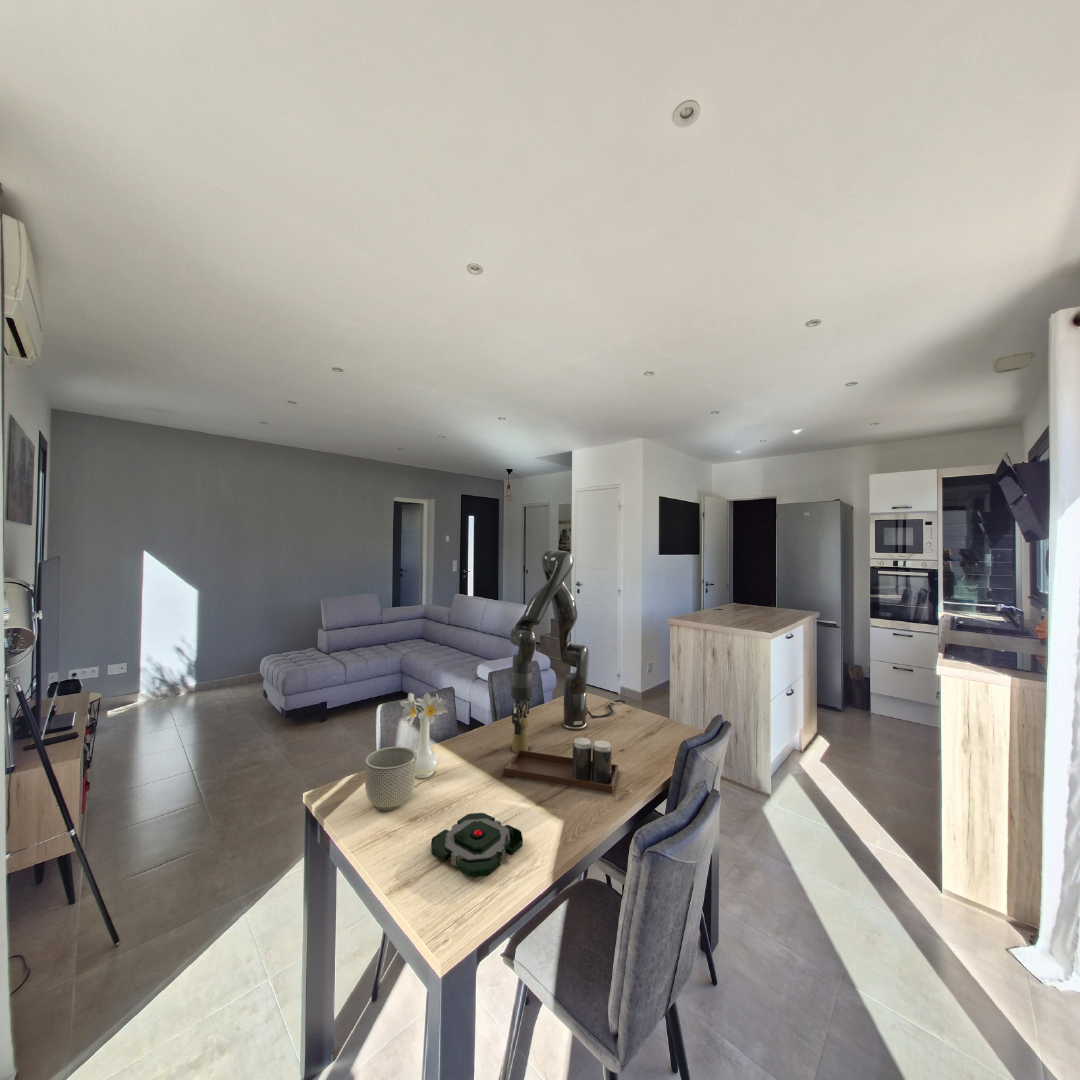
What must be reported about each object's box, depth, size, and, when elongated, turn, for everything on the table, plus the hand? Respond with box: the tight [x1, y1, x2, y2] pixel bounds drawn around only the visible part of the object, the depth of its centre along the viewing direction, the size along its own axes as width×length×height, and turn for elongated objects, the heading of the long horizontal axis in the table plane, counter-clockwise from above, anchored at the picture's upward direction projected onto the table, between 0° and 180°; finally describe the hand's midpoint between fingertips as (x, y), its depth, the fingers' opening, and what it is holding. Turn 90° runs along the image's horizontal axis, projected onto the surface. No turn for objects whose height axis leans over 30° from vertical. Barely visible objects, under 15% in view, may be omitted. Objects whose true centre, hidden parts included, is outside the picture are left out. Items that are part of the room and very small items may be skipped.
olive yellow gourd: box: [511, 717, 529, 753], centre depth 163 cm, size 6×6×11 cm
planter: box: [363, 746, 417, 812], centre depth 126 cm, size 14×14×13 cm
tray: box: [503, 750, 619, 794], centre depth 145 cm, size 14×34×2 cm, turn 74°
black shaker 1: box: [572, 737, 593, 781], centre depth 143 cm, size 6×6×11 cm
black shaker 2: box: [592, 739, 613, 784], centre depth 141 cm, size 6×6×11 cm
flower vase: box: [399, 692, 449, 779], centre depth 144 cm, size 13×18×25 cm
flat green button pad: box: [430, 812, 524, 878], centre depth 107 cm, size 18×18×5 cm
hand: (520, 730), depth 163 cm, fingers open, 5 cm apart
